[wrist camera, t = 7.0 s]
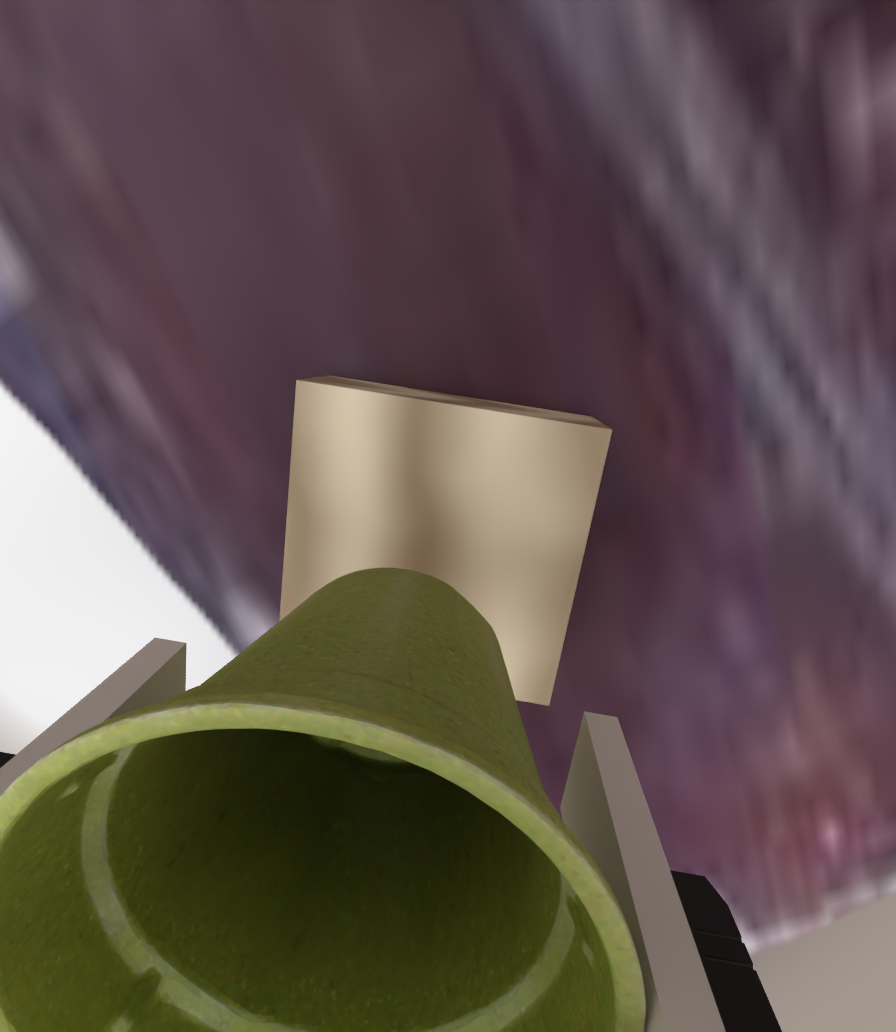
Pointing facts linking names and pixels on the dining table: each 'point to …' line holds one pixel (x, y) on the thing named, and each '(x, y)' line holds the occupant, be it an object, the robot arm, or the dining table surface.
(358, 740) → the plant pot
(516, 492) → the ash block
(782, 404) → the dining table surface
